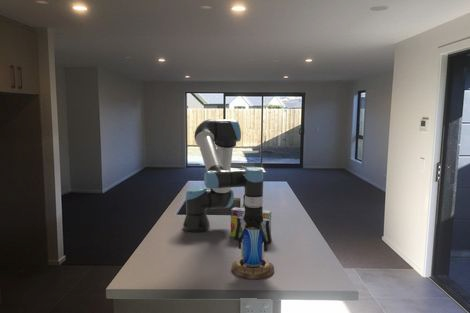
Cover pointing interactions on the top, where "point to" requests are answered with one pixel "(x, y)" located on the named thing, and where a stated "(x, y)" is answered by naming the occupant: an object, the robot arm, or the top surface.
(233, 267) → the round brown bowl
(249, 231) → the beer can
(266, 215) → the snack box
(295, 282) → the top surface
